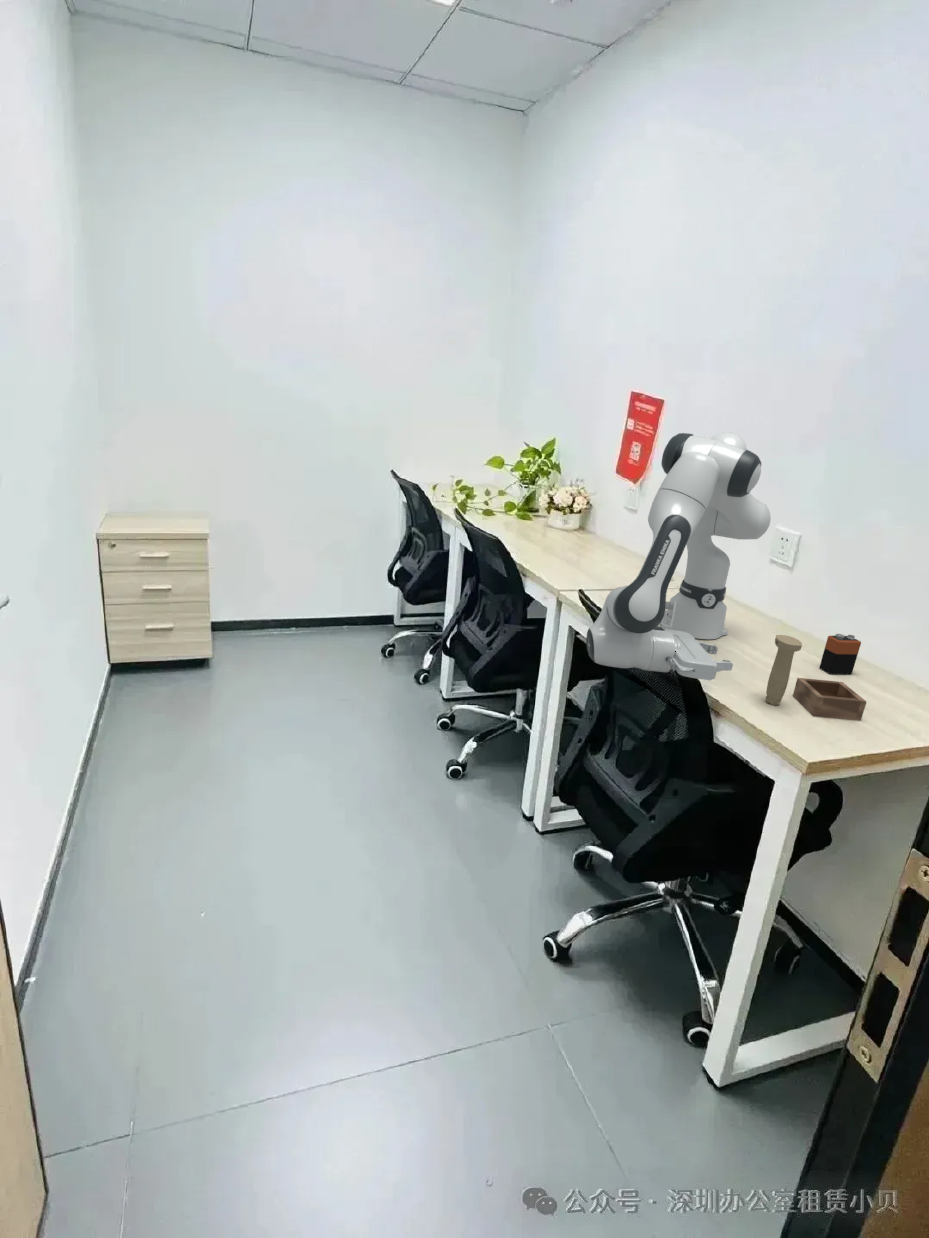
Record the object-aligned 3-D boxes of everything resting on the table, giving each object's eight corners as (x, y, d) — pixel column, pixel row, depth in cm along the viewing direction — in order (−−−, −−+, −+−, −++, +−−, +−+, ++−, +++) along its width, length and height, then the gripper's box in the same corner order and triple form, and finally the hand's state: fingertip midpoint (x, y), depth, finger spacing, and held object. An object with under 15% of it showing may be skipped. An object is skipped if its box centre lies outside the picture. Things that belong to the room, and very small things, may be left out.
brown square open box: (792, 695, 160) (797, 677, 158) (837, 699, 160) (842, 681, 158) (813, 716, 150) (818, 697, 148) (860, 720, 150) (866, 701, 148)
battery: (818, 668, 179) (828, 631, 176) (840, 668, 180) (851, 632, 177) (829, 674, 175) (840, 638, 172) (852, 675, 176) (863, 638, 173)
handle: (777, 697, 158) (793, 635, 153) (789, 710, 152) (806, 646, 147) (756, 695, 158) (771, 634, 153) (767, 708, 151) (784, 644, 147)
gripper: (676, 655, 140) (744, 662, 140) (652, 623, 160) (711, 628, 160) (670, 683, 142) (737, 690, 142) (647, 648, 162) (706, 654, 162)
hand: (723, 657), depth 151 cm, fingers open, 8 cm apart
